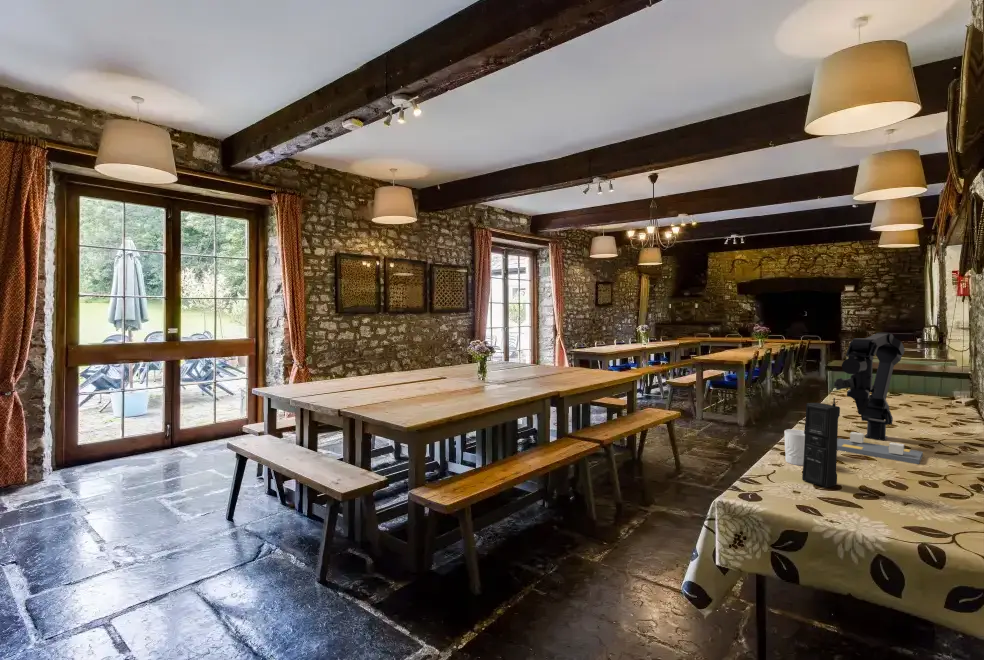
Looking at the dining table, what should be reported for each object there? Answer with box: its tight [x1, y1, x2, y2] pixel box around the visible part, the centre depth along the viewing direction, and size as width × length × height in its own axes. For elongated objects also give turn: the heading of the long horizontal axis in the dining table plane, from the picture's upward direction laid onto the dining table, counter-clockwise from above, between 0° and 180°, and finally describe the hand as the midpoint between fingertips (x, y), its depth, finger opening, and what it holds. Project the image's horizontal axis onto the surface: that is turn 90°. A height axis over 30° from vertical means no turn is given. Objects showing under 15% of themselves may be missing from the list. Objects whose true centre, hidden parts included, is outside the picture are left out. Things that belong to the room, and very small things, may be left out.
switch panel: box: [837, 437, 924, 465], centre depth 172 cm, size 13×24×2 cm, turn 45°
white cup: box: [784, 428, 805, 467], centre depth 160 cm, size 8×8×10 cm
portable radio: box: [801, 397, 841, 489], centre depth 141 cm, size 8×6×25 cm
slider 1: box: [849, 431, 865, 443], centre depth 179 cm, size 3×4×3 cm
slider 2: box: [888, 441, 905, 455], centre depth 165 cm, size 3×4×3 cm
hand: (860, 414), depth 183 cm, fingers closed
